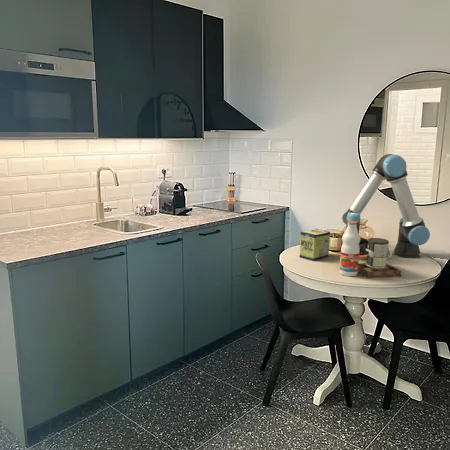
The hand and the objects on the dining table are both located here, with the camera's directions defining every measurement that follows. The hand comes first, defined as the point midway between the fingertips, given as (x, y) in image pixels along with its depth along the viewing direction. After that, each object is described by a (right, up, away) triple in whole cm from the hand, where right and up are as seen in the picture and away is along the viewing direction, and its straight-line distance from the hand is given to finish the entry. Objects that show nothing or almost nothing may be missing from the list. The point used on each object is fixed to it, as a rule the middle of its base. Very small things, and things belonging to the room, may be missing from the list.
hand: (381, 254), depth 235 cm
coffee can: (-1, -7, +6) cm, 9 cm away
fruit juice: (-17, -11, +3) cm, 20 cm away
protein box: (-29, -4, +34) cm, 45 cm away
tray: (-1, -10, +6) cm, 12 cm away
